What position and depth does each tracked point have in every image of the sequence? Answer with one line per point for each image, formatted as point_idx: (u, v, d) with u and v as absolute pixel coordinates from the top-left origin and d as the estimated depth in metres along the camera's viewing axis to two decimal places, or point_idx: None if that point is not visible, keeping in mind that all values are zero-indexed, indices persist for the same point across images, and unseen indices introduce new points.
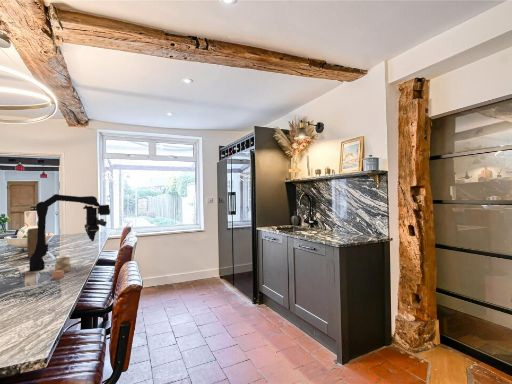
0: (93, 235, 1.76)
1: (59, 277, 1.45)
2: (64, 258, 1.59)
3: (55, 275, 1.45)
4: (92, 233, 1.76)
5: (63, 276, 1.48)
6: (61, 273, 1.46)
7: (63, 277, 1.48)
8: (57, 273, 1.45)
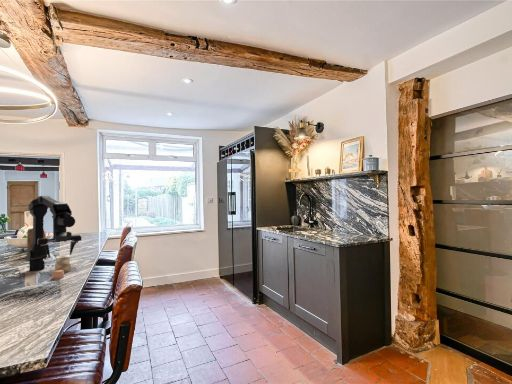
0: (46, 250, 1.45)
1: (59, 277, 1.45)
2: (64, 258, 1.59)
3: (55, 275, 1.45)
4: None
5: (63, 276, 1.48)
6: (61, 273, 1.46)
7: (63, 277, 1.48)
8: (57, 273, 1.45)
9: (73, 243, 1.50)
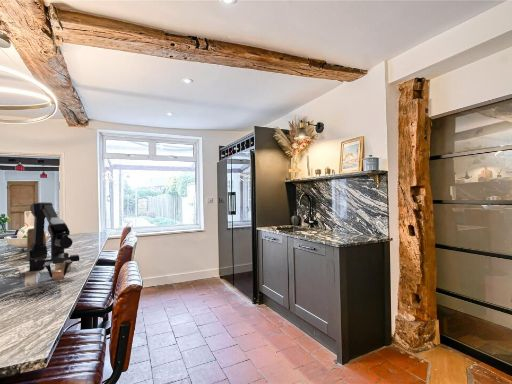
0: None
1: (59, 277, 1.45)
2: None
3: (55, 275, 1.45)
4: None
5: (63, 276, 1.48)
6: (61, 273, 1.46)
7: (63, 277, 1.48)
8: (57, 273, 1.45)
9: (67, 264, 1.47)
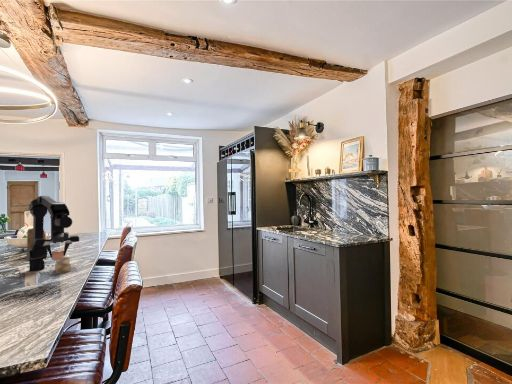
0: (48, 251, 1.44)
1: (59, 257, 1.45)
2: (64, 258, 1.59)
3: (55, 255, 1.45)
4: None
5: (63, 256, 1.48)
6: (61, 253, 1.46)
7: (63, 257, 1.48)
8: (57, 253, 1.45)
9: (67, 244, 1.48)
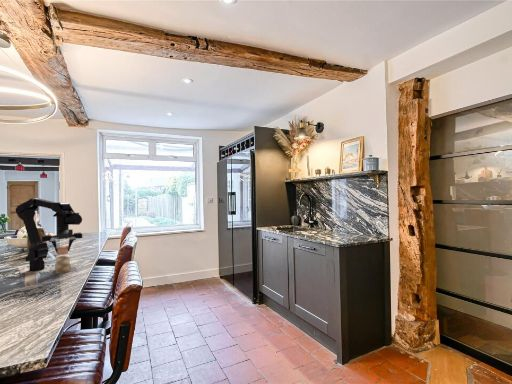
0: (54, 246, 1.58)
1: (64, 252, 1.59)
2: (64, 258, 1.59)
3: (60, 250, 1.58)
4: None
5: (67, 251, 1.61)
6: (65, 248, 1.60)
7: (67, 252, 1.61)
8: (62, 248, 1.59)
9: (71, 240, 1.61)
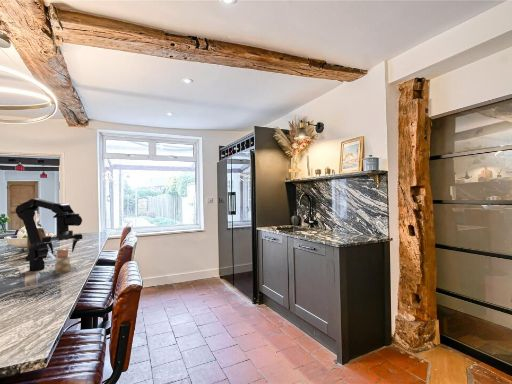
0: (50, 248, 1.57)
1: (64, 255, 1.59)
2: (64, 258, 1.59)
3: (60, 253, 1.58)
4: None
5: (67, 254, 1.61)
6: (66, 251, 1.60)
7: (67, 255, 1.61)
8: (62, 251, 1.59)
9: (75, 241, 1.62)
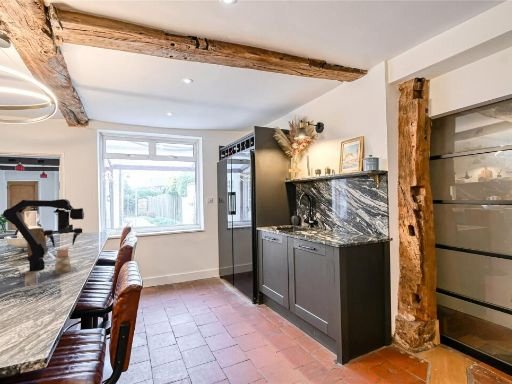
0: None
1: (64, 255, 1.59)
2: (64, 258, 1.59)
3: (60, 253, 1.58)
4: None
5: (67, 254, 1.61)
6: (66, 251, 1.60)
7: (67, 255, 1.61)
8: (62, 251, 1.59)
9: (75, 235, 1.70)
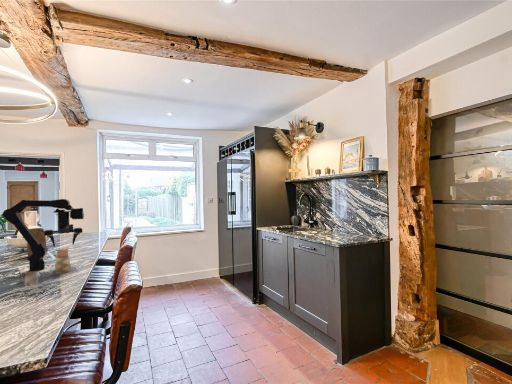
0: None
1: (64, 255, 1.59)
2: (64, 258, 1.59)
3: (60, 253, 1.58)
4: None
5: (67, 254, 1.61)
6: (66, 251, 1.60)
7: (67, 255, 1.61)
8: (62, 251, 1.59)
9: (75, 235, 1.71)
